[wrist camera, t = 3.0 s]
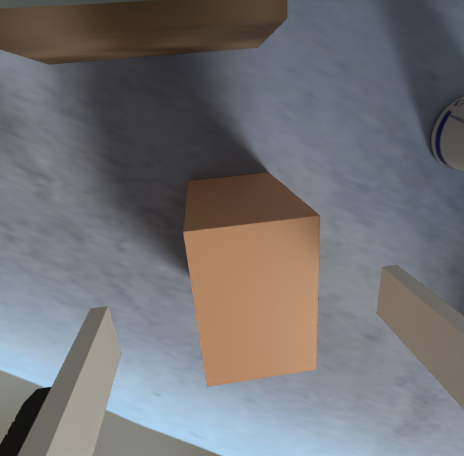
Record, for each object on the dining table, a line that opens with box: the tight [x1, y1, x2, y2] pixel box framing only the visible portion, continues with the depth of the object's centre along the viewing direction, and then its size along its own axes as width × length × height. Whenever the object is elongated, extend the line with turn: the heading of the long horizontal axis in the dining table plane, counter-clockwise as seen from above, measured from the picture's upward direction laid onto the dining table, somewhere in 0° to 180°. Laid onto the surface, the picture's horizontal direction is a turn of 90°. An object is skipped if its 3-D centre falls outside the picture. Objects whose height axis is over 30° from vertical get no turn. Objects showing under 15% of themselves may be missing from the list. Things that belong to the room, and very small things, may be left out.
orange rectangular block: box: [183, 172, 320, 387], centre depth 19 cm, size 6×9×10 cm, turn 5°
